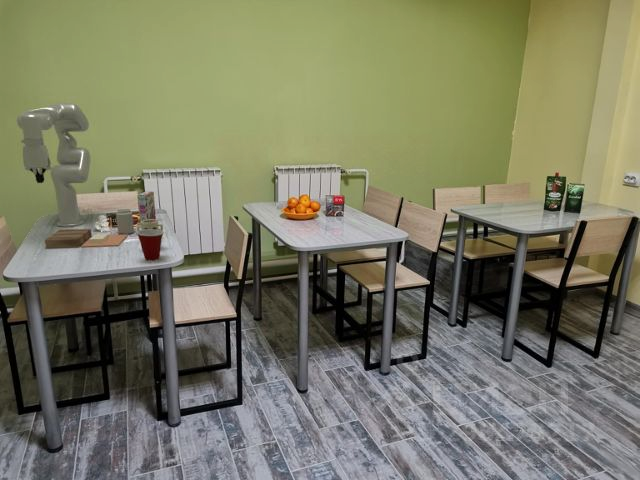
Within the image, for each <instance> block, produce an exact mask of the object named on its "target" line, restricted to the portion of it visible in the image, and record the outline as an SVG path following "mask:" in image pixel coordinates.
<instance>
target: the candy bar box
mask: <svg viewBox="0 0 640 480" xmlns="http://www.w3.org/2000/svg"><path fill="white" fill-rule="evenodd" d="M155 202H156V201H155V192H154V191H144V192H141V193H139V194H137V205H138V215H139V216H138V217H139V226H140V225H141V221H143V220H147V219H156V220H157V218H156V217H157V216H156V207H155V205H156V204H155Z"/></svg>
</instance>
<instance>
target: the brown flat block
mask: <svg viewBox="0 0 640 480" xmlns="http://www.w3.org/2000/svg"><path fill="white" fill-rule="evenodd" d="M91 237H93V235H92V228H76V229H75V228H74V229H73V228H70V229H66V228H65V229H58V230H57V231H56V232H54V233H53V234H52V235H50V236H49V237H47V238H45V239H44V244H45V249H69V248H70V249H71V248H72V249H73V248H75V249H76V248H78V249H79V248H81V246H82V245H83V244H84V243H86V242H87V241H88V240H89V239H90V238H91Z"/></svg>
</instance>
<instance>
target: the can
mask: <svg viewBox="0 0 640 480" xmlns="http://www.w3.org/2000/svg"><path fill="white" fill-rule="evenodd" d="M115 217H116V224H117V233H118V234H119V235H127V234H128V235H132V234H133V233H134V232H135V227H134V218H133V217H134V216H133V211H131V209H130V208H120V209H117V211H116V213H115Z"/></svg>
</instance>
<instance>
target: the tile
mask: <svg viewBox="0 0 640 480" xmlns="http://www.w3.org/2000/svg"><path fill="white" fill-rule="evenodd" d="M109 235H110V234H109V233H96V234H94V235H92V237H91V238H90V239H88V240H89V243H104V242H105V241H106V240H107V239H108V238H109Z"/></svg>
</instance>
